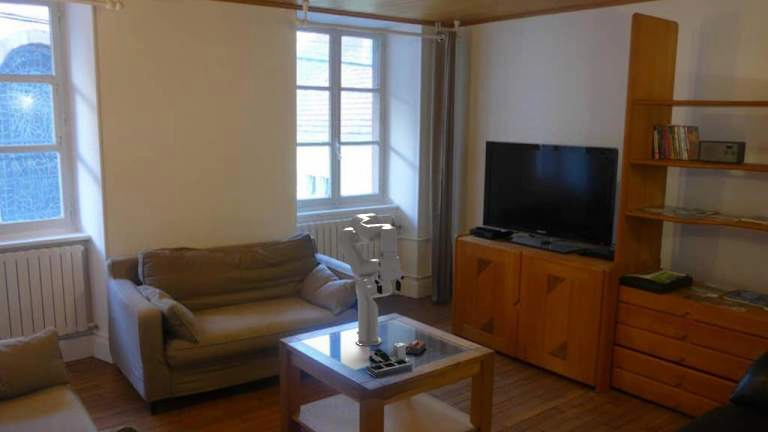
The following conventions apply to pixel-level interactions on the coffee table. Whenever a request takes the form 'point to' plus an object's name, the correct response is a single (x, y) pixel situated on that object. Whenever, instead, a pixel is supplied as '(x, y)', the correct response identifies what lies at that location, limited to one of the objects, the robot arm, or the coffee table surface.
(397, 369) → the grey flat frame
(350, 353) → the coffee table surface
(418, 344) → the walkie-talkie
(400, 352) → the steel block
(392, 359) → the sage mat
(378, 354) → the toy car
